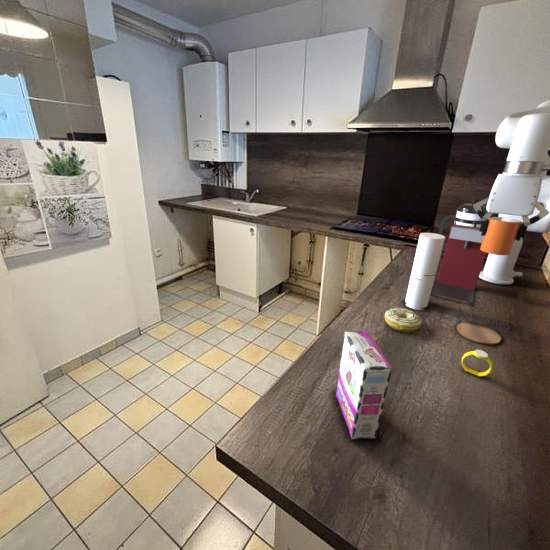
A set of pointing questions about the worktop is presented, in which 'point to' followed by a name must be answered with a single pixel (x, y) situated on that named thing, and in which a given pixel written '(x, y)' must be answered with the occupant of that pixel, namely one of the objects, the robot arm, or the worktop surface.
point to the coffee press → (464, 217)
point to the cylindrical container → (424, 270)
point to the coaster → (478, 333)
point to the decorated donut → (403, 320)
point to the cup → (500, 235)
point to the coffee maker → (461, 263)
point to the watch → (480, 355)
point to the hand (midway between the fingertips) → (499, 236)
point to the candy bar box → (362, 384)
